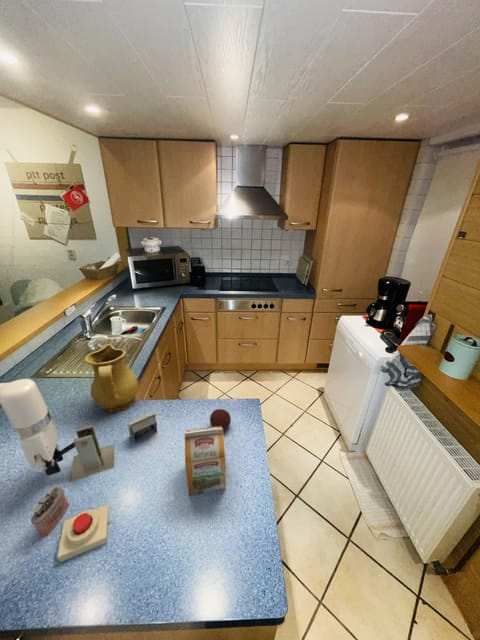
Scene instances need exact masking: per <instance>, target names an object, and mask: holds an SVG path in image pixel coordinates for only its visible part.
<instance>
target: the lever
mask: <svg viewBox="0 0 480 640" xmlns="http://www.w3.org/2000/svg"><path fill="white" fill-rule="evenodd" d="M89 435H92V433H91V432H89V431H88V430H86V431H85V432H83V433H82V434H80V435H79V436H77V439H78V438H82V437H85V436H89ZM74 448H76V447H75V444H74V441H73V442H72V443H70V444H69V445H67V446H65V447H64V448H62V449H61V450H60V451H59V452H58V453H56V454H54V455H53V459H54V461H57V458H59V457H60V456H63V455H65V454H67V453H68V452H69V451H71V450H73V449H74ZM44 462H45V463H48V461H44Z"/></svg>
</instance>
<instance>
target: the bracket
mask: <svg viewBox="0 0 480 640" xmlns="http://www.w3.org/2000/svg"><path fill="white" fill-rule="evenodd" d="M86 430H88V431H89V432H91V433H92V435H89V436H85V437H82V438H78V436H79V435H80V434H82V433H83V432H85V431H86ZM75 432H76V434H77V438H75V439H73V442H74V444H75V447H74V448H75V450H76V452H77V455H73V458H72V464H71V469H70V473H69V480H68V483H71V482H74V481H78V480H81V479H85V478H87V477H90V476H93V475H97V474H100V473H102V472H105V471H108V470H111V469H114V468H115V454H116V453H115V451H116V450H115V449H116V444H115V443H114V444H110V445H107V446H104V447H103V446H102V447H101V446H100V442H99V438H98V437H97V433H96V430H95V427H94V424H90V425H86V426H83V427H79V428H76V429H75Z"/></svg>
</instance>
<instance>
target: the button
mask: <svg viewBox="0 0 480 640" xmlns="http://www.w3.org/2000/svg"><path fill="white" fill-rule="evenodd" d="M90 525H91V518H90V516H89V514H87V513H83V514H81V515H79V516H78V517H77V518H76V519H75V520H74V522H73V529H74V531H75V533H77V534H82V533H84V532H85V531H86V530H88V528H89V527H90Z"/></svg>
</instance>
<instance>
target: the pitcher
mask: <svg viewBox="0 0 480 640" xmlns="http://www.w3.org/2000/svg"><path fill="white" fill-rule="evenodd" d="M126 353H127V352H126V350H125V349H122V348H115V347H114V346H113V344H112V343H107V344H105V345H104V346H103V347H102V348H100V349H98V350H96V351H93V352H90V353H88V355H85V357H84V362H86V363H87V364H88V365H91V366H92V369H93V380H92V382H91V385H90V396H91V398H92V399H93V401H94V402H95V403H96V404H97V406H99V407H101V408H102V409H103V410H104V411H106V412H109V413H117V412H122V411H123V412H124V410H126V409H128V408H130V407H131V406H132V405H133V404H134V403H135V401H136V399H137V394H138V391H139V379H138V377H137V375H136V373H135V372H134V370H132V369H131V368H129V367H128V366H127V364H126V362H125V358H124V357H125V355H126Z"/></svg>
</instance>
